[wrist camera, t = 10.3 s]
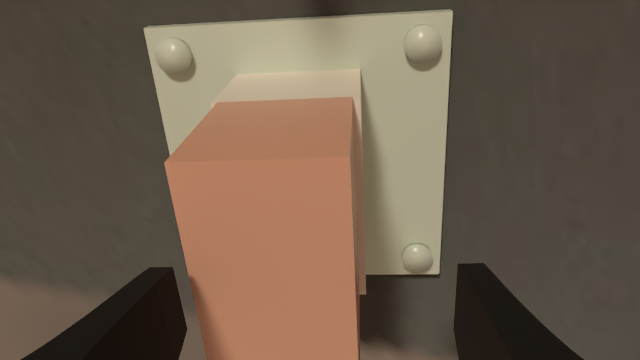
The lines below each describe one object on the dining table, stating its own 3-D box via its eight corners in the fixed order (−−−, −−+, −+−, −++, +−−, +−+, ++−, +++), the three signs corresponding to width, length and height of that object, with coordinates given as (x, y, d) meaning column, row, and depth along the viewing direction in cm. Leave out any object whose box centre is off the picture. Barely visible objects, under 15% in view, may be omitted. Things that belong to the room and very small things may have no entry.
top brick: (359, 293, 19) (359, 399, 15) (247, 294, 20) (215, 397, 15) (352, 96, 16) (349, 156, 12) (217, 102, 16) (164, 162, 12)
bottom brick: (364, 239, 23) (365, 294, 19) (259, 241, 24) (241, 294, 20) (360, 68, 20) (360, 97, 16) (236, 74, 20) (210, 103, 16)
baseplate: (437, 266, 24) (440, 279, 23) (198, 268, 25) (192, 280, 24) (449, 9, 19) (454, 12, 18) (149, 26, 20) (139, 29, 19)
